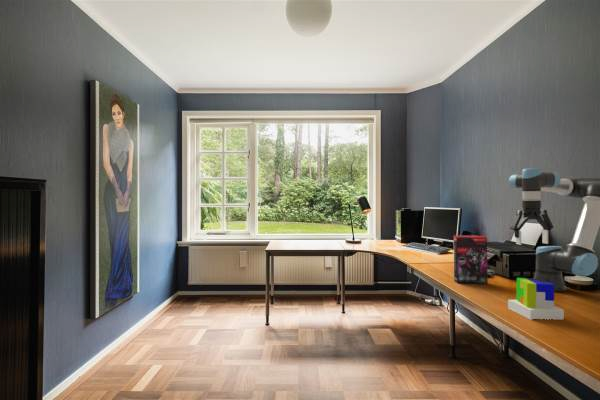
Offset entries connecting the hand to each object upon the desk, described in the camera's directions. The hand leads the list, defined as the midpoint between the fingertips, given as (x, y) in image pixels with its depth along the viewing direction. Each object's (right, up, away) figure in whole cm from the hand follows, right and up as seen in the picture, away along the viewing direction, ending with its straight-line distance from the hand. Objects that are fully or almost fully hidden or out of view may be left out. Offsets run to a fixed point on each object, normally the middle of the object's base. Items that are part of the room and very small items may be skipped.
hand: (532, 243), depth 165 cm
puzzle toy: (-12, -24, -19) cm, 33 cm away
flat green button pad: (+3, -27, +57) cm, 63 cm away
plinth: (-12, -27, -19) cm, 36 cm away
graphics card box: (-13, -27, +34) cm, 45 cm away
